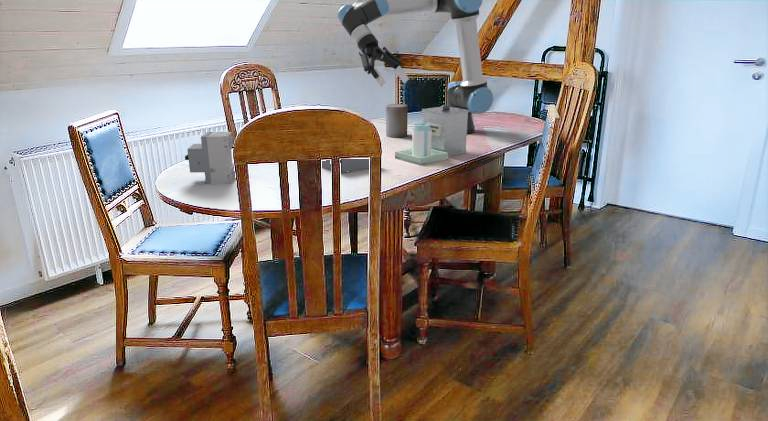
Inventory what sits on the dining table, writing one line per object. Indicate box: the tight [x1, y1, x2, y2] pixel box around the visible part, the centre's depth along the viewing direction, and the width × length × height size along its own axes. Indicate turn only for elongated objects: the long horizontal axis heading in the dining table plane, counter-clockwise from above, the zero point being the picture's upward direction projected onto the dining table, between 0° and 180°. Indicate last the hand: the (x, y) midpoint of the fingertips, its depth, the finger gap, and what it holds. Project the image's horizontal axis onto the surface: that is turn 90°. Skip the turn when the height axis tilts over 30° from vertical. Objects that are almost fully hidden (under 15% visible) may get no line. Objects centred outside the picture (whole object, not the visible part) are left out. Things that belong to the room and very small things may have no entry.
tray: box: [394, 148, 449, 166], centre depth 202 cm, size 14×14×2 cm
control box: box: [421, 104, 470, 158], centre depth 210 cm, size 13×13×18 cm
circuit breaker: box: [184, 131, 236, 185], centre depth 171 cm, size 8×14×15 cm, turn 95°
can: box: [411, 122, 432, 157], centre depth 201 cm, size 7×7×12 cm
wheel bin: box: [321, 159, 370, 174], centre depth 191 cm, size 16×14×6 cm
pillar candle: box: [385, 103, 408, 138], centre depth 243 cm, size 10×10×15 cm
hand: (395, 82), depth 203 cm, fingers open, 13 cm apart
